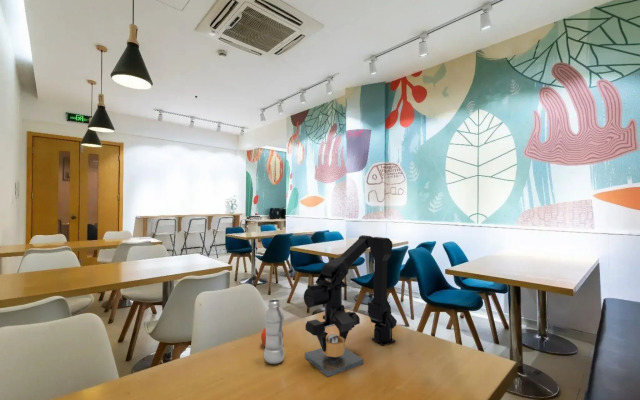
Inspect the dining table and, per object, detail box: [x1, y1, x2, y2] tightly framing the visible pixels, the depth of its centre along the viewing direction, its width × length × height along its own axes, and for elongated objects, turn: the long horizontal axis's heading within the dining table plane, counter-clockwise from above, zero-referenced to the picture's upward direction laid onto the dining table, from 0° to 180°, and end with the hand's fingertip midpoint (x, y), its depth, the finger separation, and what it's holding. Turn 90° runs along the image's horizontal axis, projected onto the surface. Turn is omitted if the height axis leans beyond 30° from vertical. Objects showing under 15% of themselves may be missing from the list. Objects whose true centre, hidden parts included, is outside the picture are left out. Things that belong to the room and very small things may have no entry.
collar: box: [322, 334, 346, 357], centre depth 99 cm, size 7×7×4 cm
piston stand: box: [304, 334, 364, 378], centre depth 99 cm, size 14×14×8 cm
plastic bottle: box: [263, 298, 285, 365], centre depth 98 cm, size 6×7×20 cm
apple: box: [260, 327, 284, 346], centre depth 110 cm, size 8×8×8 cm
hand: (333, 348), depth 99 cm, fingers closed on collar, 7 cm apart
